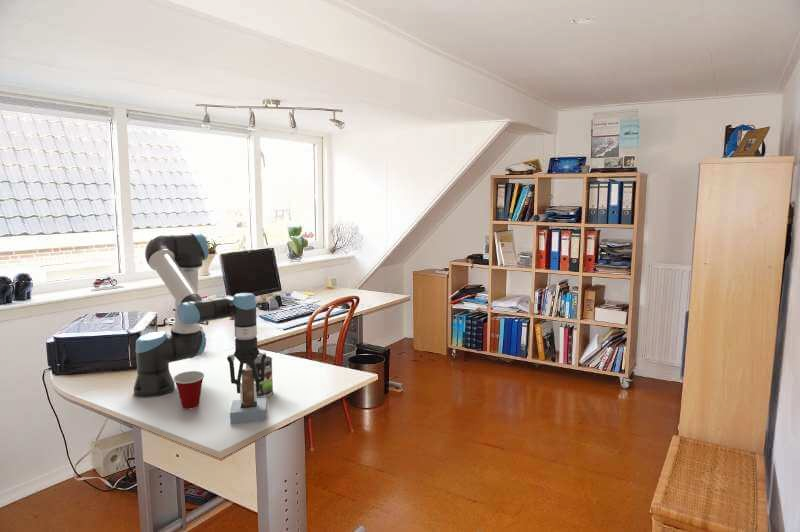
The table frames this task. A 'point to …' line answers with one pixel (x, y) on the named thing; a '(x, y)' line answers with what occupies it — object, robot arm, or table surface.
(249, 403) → the peg
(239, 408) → the socket block
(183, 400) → the plastic cup
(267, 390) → the coffee can
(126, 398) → the table surface
